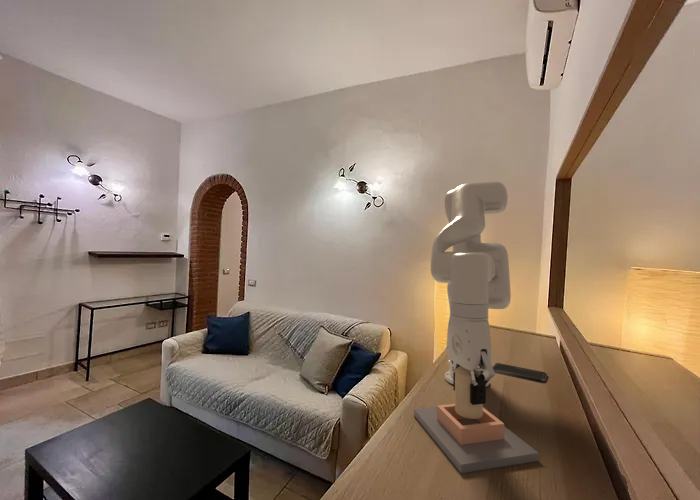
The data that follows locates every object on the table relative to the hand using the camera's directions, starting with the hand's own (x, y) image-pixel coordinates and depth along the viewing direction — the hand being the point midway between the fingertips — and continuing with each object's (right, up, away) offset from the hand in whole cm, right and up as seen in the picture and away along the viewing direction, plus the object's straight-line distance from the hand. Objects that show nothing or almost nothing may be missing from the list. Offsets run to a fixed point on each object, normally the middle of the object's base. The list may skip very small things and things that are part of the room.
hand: (468, 395), depth 67 cm
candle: (0, -4, 0) cm, 4 cm away
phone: (+29, -9, +35) cm, 47 cm away
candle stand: (0, -8, 0) cm, 8 cm away
